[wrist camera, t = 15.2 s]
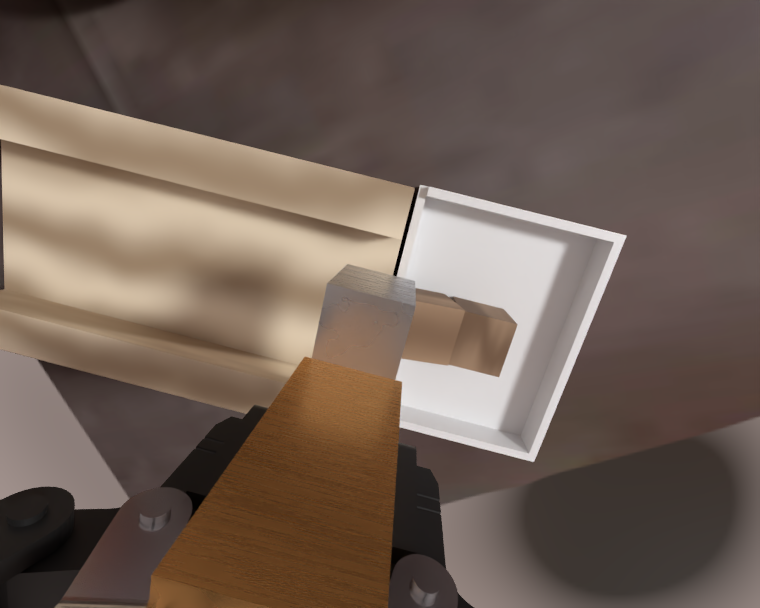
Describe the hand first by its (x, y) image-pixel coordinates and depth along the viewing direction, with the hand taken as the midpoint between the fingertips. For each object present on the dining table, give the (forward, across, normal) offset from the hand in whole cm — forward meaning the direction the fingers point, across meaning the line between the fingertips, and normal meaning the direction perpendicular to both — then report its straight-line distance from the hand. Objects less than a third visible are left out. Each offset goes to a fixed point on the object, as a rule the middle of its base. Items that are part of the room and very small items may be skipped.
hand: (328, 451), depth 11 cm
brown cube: (+17, -5, 0) cm, 18 cm away
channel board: (+20, +14, 0) cm, 24 cm away
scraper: (+6, 0, 0) cm, 6 cm away
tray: (+20, -8, 0) cm, 21 cm away
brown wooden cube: (+18, -3, 0) cm, 18 cm away
